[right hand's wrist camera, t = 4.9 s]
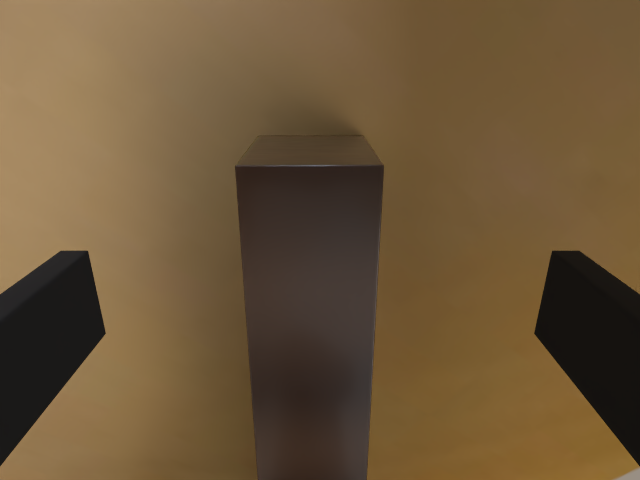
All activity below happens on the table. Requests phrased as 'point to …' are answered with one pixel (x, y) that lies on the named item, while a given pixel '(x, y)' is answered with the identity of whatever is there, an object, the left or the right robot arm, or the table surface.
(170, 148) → the table surface
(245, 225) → the walnut beam
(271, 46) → the table surface
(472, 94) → the table surface
